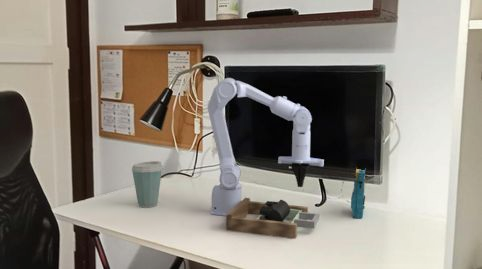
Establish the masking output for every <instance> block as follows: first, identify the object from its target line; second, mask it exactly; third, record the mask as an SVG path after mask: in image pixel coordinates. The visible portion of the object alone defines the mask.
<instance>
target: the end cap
mask: <svg viewBox="0 0 482 269" xmlns="http://www.w3.org/2000/svg"><path fill="white" fill-rule="evenodd" d="M264 203H265V205H267V206H269V207H267V206H262V207H261V208H260V215H266V216H265V218H266V219H261V218H260V219H261V220H270V221H279V222H285V219H287V218H286V217H287V216H288V214H289V212H290V208H289V205H290V204H289V203H288V202H287V201H285V200H283V199H279V201H270V200H267V201H266V202H264Z"/></svg>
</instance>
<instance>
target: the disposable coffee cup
mask: <svg viewBox="0 0 482 269" xmlns="http://www.w3.org/2000/svg"><path fill="white" fill-rule="evenodd" d="M163 168H164V167H163V164H162V161H151V160H150V161H142V162H138V163H134V165H132V167H131V172H132V177H133V183H134V188H135V195H136V200H137V204H138V206H139V207H140V208H153V207H155V206H157V205H158V203H159V202H158V201H159V196H160V194H159V193H160V187H161V180H162V179H161V178H162V170H163Z"/></svg>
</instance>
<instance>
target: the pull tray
mask: <svg viewBox="0 0 482 269" xmlns="http://www.w3.org/2000/svg"><path fill="white" fill-rule="evenodd" d="M265 216H266V215H258V217H256V219H260V218H261V219H266V218H265ZM285 219H289V220H292V221H291V222H290V223H297V228H305V229H315V228H316V226H317V225H318V223H319V221H320V213H319V212H318V213H316V212H309V211H308V212H302V210H294V209H290V212H289V214H288V216H287V217H286V218H285ZM302 219H305V220H302Z"/></svg>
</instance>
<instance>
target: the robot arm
mask: <svg viewBox="0 0 482 269" xmlns="http://www.w3.org/2000/svg"><path fill="white" fill-rule="evenodd" d="M236 95H237V98H245V97H246V98H249V99H252V100H253V101H256V102H258V103H260V104H263V105H265V106H267V107H269V110H270V111H271V113H272V114H274V115H276V116H279V117H280V118H283V119H284V120H287V121H288V122H289V121H292V122H293V123H292V124H293V125H292V126H293V129H292V132H291V133H292V136H291V138H292V140H291V141H292V144H291V156H278V160H277V164H289V165H291V167H290V168H291V170H292V172H293V173H294V176H295V180H296V184H297V188H302V187H304V182H305V178H306V175H307V173H308V170H309V168H310V167H311V166H317V167H322V168H323V167H324V164H325V163H324V161H325V159H321V158H314V157H311V123H312V120H313V118H312V115H311V114H312V113H311V112H310V110H308V109H307V108H306V107H305V106H302V105H301V104H300V103H294V102H293V101H291V100H289V99H288V97H287V96H284V95H283V96H281V95H280V96H279V95H277V96H275V97H273V96H271V95H269V94H267V93H265V92H263V91H262V90H259V89H258V88H256V87H254V86H252V85H250V84H248V83H245V82H243V81H241V80H236V79H234V78H232V77H226V78H224V79H222V80H220V81H219V82H218V83H217V85H216V86H215V87H214V88H213V91H212V93H211V96H210V98H209V101H208V104H207V112H208V115H209V116H208V117H209V120H210V125H211V129H212V133H213V137H214V142H215V146H216V151H217V154H218V155H217V156H218V160H219V170H220V174H219V185H217V184H215V185H214V186H213V187H212V191H211V212H210V214H211V215H214V216H215V215H217V216H226V214H227V213H228V212H230V211H231V210H232V209H233V208H234V207H235V206H236V205H238V204H239V203H240V202H241V201H242V184H241V183H240V177H241V174H242V171H241V168H240V167H239V166H238V164H237V162H236V159H235V156H234V152H233V147H232V143H231V138H230V135H229V128H228V126H227V122H226V121H227V120H226V117H225V112H224V108H225V107H226V105H227V104H228V102H230V101H231V100H232V99H233V98H234V97H235V96H236Z"/></svg>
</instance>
